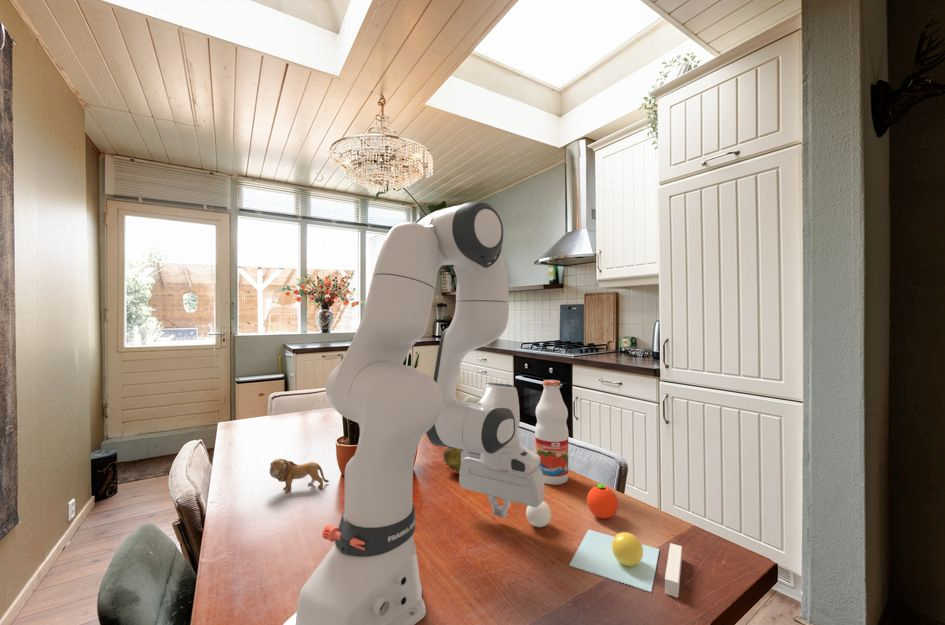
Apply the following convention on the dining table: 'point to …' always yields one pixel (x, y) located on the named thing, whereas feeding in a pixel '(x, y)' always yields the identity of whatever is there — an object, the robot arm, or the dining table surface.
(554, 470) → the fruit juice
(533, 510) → the cue ball
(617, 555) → the yellow ball
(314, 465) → the lion figurine
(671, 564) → the rail
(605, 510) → the clementine
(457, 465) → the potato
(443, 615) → the dining table surface
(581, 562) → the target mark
